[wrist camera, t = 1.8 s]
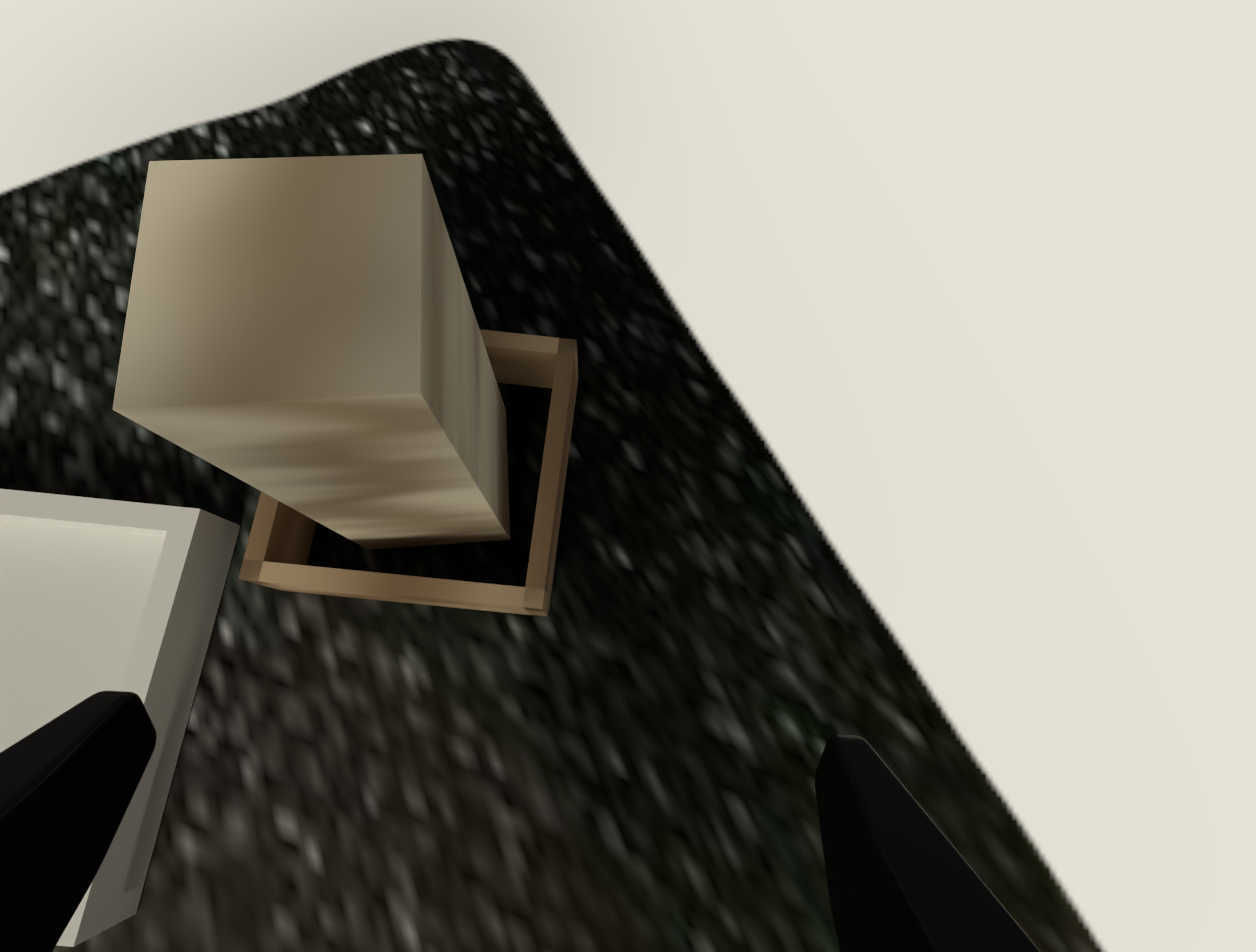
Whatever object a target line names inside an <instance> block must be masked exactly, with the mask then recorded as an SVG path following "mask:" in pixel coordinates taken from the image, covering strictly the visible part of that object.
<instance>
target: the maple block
mask: <svg viewBox="0 0 1256 952" xmlns="http://www.w3.org/2000/svg"><path fill="white" fill-rule="evenodd" d="M113 410H114V411H116V412H118V413H120V414H121V415H123V416H125V417H127V418H129V419H131V420H132V421H134V422H136V423H138V424H140V425H142V426H143V427H145V428H147V429H149V430H151V431H152V432H154V433H156V434H158V435H160V436H162V437H163V438H165V439H167V440H169V441H171V442H173V443H174V444H176V445H178V446H180V447H182V448H183V449H185V450H187V451H189V452H191V453H193V454H194V455H196V456H198V457H200V458H202V459H204V460H205V461H207V462H209V463H211V464H213V465H214V466H216V467H218V468H220V469H222V470H224V471H225V472H227V473H229V474H231V475H233V476H235V477H236V478H238V479H240V480H242V481H244V482H245V483H247V484H249V485H251V486H253V487H255V488H256V489H258V490H260V491H262V492H264V493H265V494H267V495H269V496H271V497H273V498H275V499H276V500H278V501H280V502H282V503H284V504H286V505H287V506H289V507H291V508H293V509H295V510H296V511H298V512H300V513H302V514H304V515H306V516H307V517H309V518H311V519H313V520H315V521H317V522H318V523H320V524H322V525H324V526H326V527H327V528H329V529H331V530H333V531H335V532H337V533H338V534H340V535H342V536H344V537H346V538H348V539H349V540H351V541H353V542H355V543H357V544H358V545H360V546H362V547H364V548H366V549H368V550H372V549H386V548H400V547H414V546H428V545H443V544H457V543H471V542H485V541H499V540H510V516H509V485H508V454H507V423H506V409H505V406H504V403H503V400H502V397H501V394H500V391H499V388H498V385H497V382H496V378H495V375H494V372H493V369H492V366H491V363H490V360H489V357H488V354H487V351H486V348H485V345H484V342H483V339H482V336H481V333H480V330H479V327H478V324H477V320H476V317H475V314H474V311H473V308H472V305H471V302H470V299H469V296H468V293H467V290H466V287H465V284H464V281H463V278H462V275H461V272H460V269H459V265H458V262H457V259H456V256H455V253H454V250H453V247H452V244H451V241H450V238H449V235H448V232H447V229H446V226H445V223H444V220H443V217H442V214H441V211H440V207H439V204H438V201H437V198H436V195H435V192H434V189H433V186H432V183H431V180H430V177H429V174H428V171H427V168H426V165H425V162H424V159H423V156H422V154H398V155H361V156H324V157H288V158H251V159H214V160H177V161H149V167H148V174H147V181H146V187H145V194H144V201H143V208H142V214H141V221H140V228H139V235H138V241H137V248H136V255H135V262H134V268H133V275H132V282H131V288H130V295H129V302H128V309H127V315H126V322H125V329H124V336H123V342H122V349H121V356H120V362H119V369H118V376H117V383H116V389H115V396H114V403H113Z"/></svg>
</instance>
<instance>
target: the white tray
mask: <svg viewBox="0 0 1256 952" xmlns="http://www.w3.org/2000/svg"><path fill="white" fill-rule="evenodd" d="M239 529H240V525H238V524H235V523H233V522H231V521H228V520H226V519H223V518H221V517H219V516H216V515H214V514H211V513H209V512H207V511H204V510H202V509H197V508H187V507H177V506H167V505H157V504H147V503H138V502H128V501H118V500H108V499H98V498H88V497H78V496H68V495H58V494H48V493H39V492H29V491H19V490H9V489H0V752H2V751H4V750H5V749H7V748H8V747H10V746H12V745H13V744H15V743H16V742H18V741H19V740H21V739H23V738H24V737H26V736H27V735H29V734H31V733H32V732H34V731H35V730H37V729H39V728H40V727H42V726H43V725H45V724H47V723H48V722H50V721H51V720H53V719H54V718H56V717H58V716H59V715H61V714H62V713H64V712H66V711H67V710H69V709H70V708H72V707H74V706H75V705H77V704H78V703H80V702H82V701H83V700H85V699H86V698H88V697H90V696H91V695H93V694H95V693H98V692H101V691H108V690H109V691H126V692H134V693H136V694H137V695H138V696H139V697H140V698H141V700H142V702H143V704H144V706H145V708H146V711H147V713H148V715H149V717H150V719H151V721H152V723H153V725H154V727H155V730H156V736H157V738H156V745H155V749H154V751H153V754H152V756H151V758H150V760H149V763H148V765H147V767H146V769H145V771H144V774H143V776H142V778H141V780H140V782H139V784H138V787H137V789H136V791H135V793H134V795H133V798H132V800H131V802H130V804H129V806H128V808H127V811H126V813H125V815H124V817H123V819H122V821H121V824H120V826H119V828H118V830H117V832H116V835H115V837H114V839H113V841H112V843H111V845H110V848H109V850H108V852H107V854H106V856H105V858H104V860H103V862H102V864H101V866H100V868H99V870H98V872H97V874H96V876H95V878H94V879H93V881H92V883H91V885H90V887H89V889H88V890H87V892H86V894H85V896H84V897H83V899H82V901H81V903H80V904H79V906H78V908H77V910H76V911H75V913H74V915H73V917H72V918H71V920H70V922H69V924H68V925H67V927H66V929H65V930H64V932H63V934H62V936H61V937H60V939H59V941H58V943H57V944H56V945H59V946H71V947H74V946H76V945H78V944H80V943H82V942H84V941H85V940H87V939H89V938H91V937H93V936H95V935H97V934H99V933H101V932H102V931H104V930H106V929H108V928H110V927H112V926H114V925H116V924H117V923H119V922H121V921H123V920H125V919H127V918H129V917H131V916H133V915H134V914H136V912H137V908H138V905H139V901H140V897H141V894H142V890H143V886H144V882H145V879H146V875H147V871H148V868H149V864H150V860H151V856H152V853H153V849H154V845H155V842H156V838H157V834H158V830H159V827H160V823H161V819H162V816H163V812H164V808H165V804H166V801H167V797H168V793H169V789H170V786H171V782H172V778H173V775H174V771H175V767H176V763H177V760H178V756H179V752H180V749H181V745H182V741H183V737H184V734H185V730H186V726H187V723H188V719H189V715H190V711H191V708H192V704H193V700H194V697H195V693H196V689H197V685H198V682H199V678H200V674H201V671H202V667H203V663H204V659H205V656H206V652H207V648H208V645H209V641H210V637H211V633H212V630H213V626H214V622H215V619H216V615H217V611H218V607H219V604H220V600H221V596H222V592H223V589H224V585H225V581H226V578H227V574H228V570H229V566H230V563H231V559H232V555H233V552H234V548H235V544H236V540H237V537H238V533H239Z"/></svg>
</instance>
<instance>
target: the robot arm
mask: <svg viewBox="0 0 1256 952" xmlns="http://www.w3.org/2000/svg"><path fill="white" fill-rule="evenodd" d="M156 738H157V736H156V730H155V727H154V725H153V723H152V721H151V719H150V717H149V715H148V713H147V711H146V708H145V706H144V704H143V702H142V700H141V698H140V697H139V696H138V695H137V694H136V693H134V692H126V691H109V690H108V691H101V692H98V693H95V694H93V695H91V696H90V697H88V698H86V699H85V700H83V701H82V702H80V703H78V704H77V705H75V706H74V707H72V708H70V709H69V710H67V711H66V712H64V713H62V714H61V715H59V716H58V717H56V718H54V719H53V720H51V721H50V722H48V723H47V724H45V725H43V726H42V727H40V728H39V729H37V730H35V731H34V732H32V733H31V734H29V735H27V736H26V737H24V738H23V739H21V740H19V741H18V742H16V743H15V744H13V745H12V746H10V747H8V748H7V749H5V750H4V751H2V752H0V952H52V951H53V950H54V948H55V946H56V944H57V943H58V941H59V939H60V937H61V936H62V934H63V932H64V930H65V929H66V927H67V925H68V924H69V922H70V920H71V918H72V917H73V915H74V913H75V911H76V910H77V908H78V906H79V904H80V903H81V901H82V899H83V897H84V896H85V894H86V892H87V890H88V889H89V887H90V885H91V883H92V881H93V879H94V878H95V876H96V874H97V872H98V870H99V868H100V866H101V864H102V862H103V860H104V858H105V856H106V854H107V852H108V850H109V848H110V845H111V843H112V841H113V839H114V837H115V835H116V832H117V830H118V828H119V826H120V824H121V821H122V819H123V817H124V815H125V813H126V811H127V808H128V806H129V804H130V802H131V800H132V798H133V795H134V793H135V791H136V789H137V787H138V784H139V782H140V780H141V778H142V776H143V774H144V771H145V769H146V767H147V765H148V763H149V760H150V758H151V756H152V754H153V751H154V749H155V745H156ZM815 790H816V798H817V806H818V814H819V821H820V829H821V837H822V844H823V852H824V860H825V868H826V875H827V883H828V891H829V897H830V904H831V910H832V915H833V920H834V925H835V930H836V934H837V938H838V943H839V947H840V951H841V952H1041V951H1040V950H1039V949H1038V948H1037V946H1036V945H1035V944H1034V943H1033V942H1032V940H1031V939H1030V938H1029V937H1028V935H1027V934H1026V933H1025V932H1024V931H1023V929H1022V928H1021V927H1020V926H1019V925H1018V923H1017V922H1016V921H1015V920H1014V919H1013V917H1012V916H1011V915H1010V914H1009V913H1008V911H1007V910H1006V909H1005V908H1004V906H1003V905H1002V904H1001V903H1000V902H999V900H998V899H997V898H996V897H995V896H994V894H993V893H992V892H991V891H990V890H989V888H988V887H987V886H986V885H985V883H984V882H983V881H982V880H981V879H980V877H979V876H978V875H977V874H976V873H975V871H974V870H973V869H972V868H971V867H970V865H969V864H968V863H967V862H966V860H965V859H964V858H963V857H962V856H961V854H960V853H959V852H958V851H957V850H956V848H955V847H954V846H953V845H952V844H951V842H950V841H949V840H948V839H947V837H946V836H945V835H944V834H943V833H942V831H941V830H940V829H939V828H938V827H937V825H936V824H935V823H934V822H933V821H932V819H931V818H930V817H929V816H928V815H927V813H926V812H925V811H924V810H923V808H922V807H921V806H920V805H919V804H918V802H917V801H916V800H915V799H914V798H913V796H912V795H911V794H910V793H909V792H908V790H907V789H906V788H905V787H904V785H903V784H902V783H901V782H900V781H899V779H898V778H897V777H896V776H895V775H894V773H893V772H892V771H891V770H890V769H889V767H888V766H887V765H886V764H885V762H884V761H883V760H882V759H881V758H880V756H879V755H878V754H877V753H876V752H875V750H874V749H873V748H872V747H871V746H870V744H869V743H868V742H867V741H866V740H865V739H864V738H862V737H860V736H857V735H843V734H833V735H832V736H830V737H829V739H828V741H827V743H826V746H825V748H824V751H823V754H822V756H821V759H820V761H819V764H818V767H817V770H816V774H815Z"/></svg>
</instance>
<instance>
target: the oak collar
mask: <svg viewBox="0 0 1256 952" xmlns="http://www.w3.org/2000/svg"><path fill="white" fill-rule="evenodd" d="M479 330H480V333H481V336H482V339H483V342H484V345H485V348H486V351H487V354H488V357H489V360H490V363H491V366H492V369H493V372H494V375H495V378H496V382H497V383H505V384H514V385H523V386H533V387H542V388H552V395H551V402H550V410H549V417H548V424H547V432H546V439H545V446H544V454H543V461H542V468H541V476H540V483H539V490H538V497H537V505H536V512H535V519H534V527H533V534H532V541H531V549H530V556H529V563H528V571H527V578H526V585H525V587H518V586H508V585H498V584H488V583H478V582H468V581H457V580H447V579H437V578H427V577H417V576H407V575H397V574H387V573H377V572H367V571H357V570H347V569H337V568H327V567H316V566H307V562H308V558H309V554H310V549H311V545H312V541H313V537H314V532H315V528H316V524H317V521H315V520H313V519H311V518H309V517H307V516H306V515H304V514H302V513H300V512H298V511H296V510H295V509H293V508H291V507H289V506H287V505H286V504H284V503H282V502H280V501H278V500H276V499H275V498H273V497H271V496H269V495H267V494H265V493H264V492H262V491H261V495H260V498H259V502H258V506H257V510H256V514H255V517H254V521H253V525H252V529H251V533H250V536H249V540H248V544H247V548H246V552H245V555H244V559H243V563H242V567H241V571H240V574H239V578H238V579H241V580H244V581H248V582H252V583H256V584H259V585H263V586H267V587H271V588H275V589H278V590H282V591H291V592H301V593H312V594H322V595H332V596H342V597H352V598H362V599H373V600H383V601H393V602H403V603H413V604H423V605H434V606H444V607H454V608H464V609H474V610H484V611H495V612H505V613H515V614H525V615H535V616H546V617H548V616H549V608H550V600H551V592H552V584H553V576H554V568H555V560H556V552H557V544H558V536H559V528H560V520H561V512H562V504H563V496H564V488H565V480H566V472H567V464H568V456H569V448H570V440H571V432H572V424H573V416H574V408H575V400H576V392H577V384H578V359H577V340H574V339H564V338H555V337H546V336H537V335H528V334H518V333H509V332H500V331H491V330H481V329H479Z"/></svg>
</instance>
